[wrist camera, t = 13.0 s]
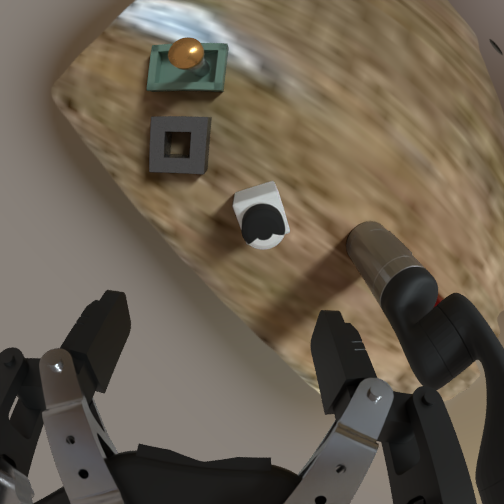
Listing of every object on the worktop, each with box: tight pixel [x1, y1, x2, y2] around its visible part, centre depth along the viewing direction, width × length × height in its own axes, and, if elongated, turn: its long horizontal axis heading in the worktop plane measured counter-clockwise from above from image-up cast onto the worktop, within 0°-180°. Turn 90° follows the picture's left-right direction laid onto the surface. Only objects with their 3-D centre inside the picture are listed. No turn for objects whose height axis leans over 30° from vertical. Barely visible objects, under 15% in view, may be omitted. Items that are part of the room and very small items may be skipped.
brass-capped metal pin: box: [168, 38, 210, 77], centre depth 31 cm, size 4×4×11 cm
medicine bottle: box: [233, 181, 290, 249], centre depth 43 cm, size 7×7×12 cm
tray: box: [147, 43, 229, 92], centre depth 36 cm, size 12×8×3 cm, turn 84°
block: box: [149, 116, 212, 174], centre depth 41 cm, size 9×9×4 cm
